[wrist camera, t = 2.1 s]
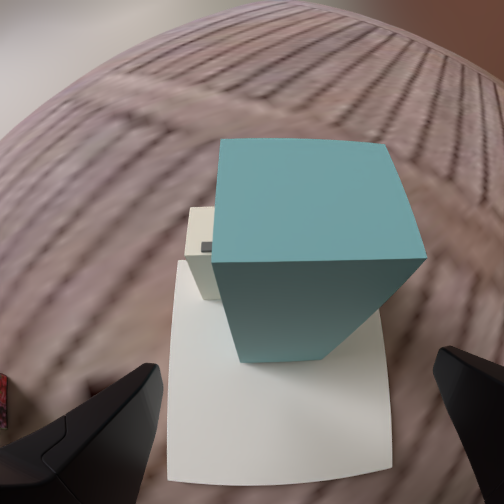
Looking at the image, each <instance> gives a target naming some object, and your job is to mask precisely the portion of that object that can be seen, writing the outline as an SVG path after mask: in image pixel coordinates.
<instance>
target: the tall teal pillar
mask: <svg viewBox="0 0 504 504" xmlns="http://www.w3.org/2000/svg"><path fill="white" fill-rule="evenodd" d="M426 259H427V255H426V252H425V249H424V245H423V242H422V239H421V236H420V233H419V230H418V227H417V224H416V221H415V218H414V215H413V212H412V209H411V207H410V204H409V201H408V199H407V196H406V193H405V191H404V188H403V186H402V183H401V181H400V178H399V176H398V173H397V171H396V169H395V166H394V164H393V162H392V159H391V157H390V155H389V153H388V150H387V148H386V146H385V144H376V143H366V142H354V141H340V140H322V139H293V138H245V139H221V142H220V153H219V163H218V175H217V186H216V199H215V212H214V226H213V240H212V256H211V264H212V268H213V271H214V275H215V279H216V282H217V286H218V289H219V293H220V296H221V300H222V303H223V307H224V310H225V314H226V317H227V321H228V324H229V328H230V331H231V334H232V338H233V341H234V344H235V348H236V351H237V354H238V358H239V361H240V363H263V362H292V361H310V360H322V359H323V358H324V357H325V356H327V355H328V354H329V353H330V352H331V351H332V350H334V349H335V348H336V347H337V346H338V345H339V344H341V343H342V342H343V341H344V340H345V339H346V338H347V337H349V336H350V335H351V334H352V333H353V332H354V331H355V330H356V329H357V328H358V327H360V326H361V325H362V324H363V323H364V322H365V321H366V320H367V319H368V318H369V317H370V316H371V315H372V314H373V313H375V312H376V311H377V310H378V309H379V308H380V307H381V306H382V305H383V304H384V303H385V302H386V301H387V300H388V299H389V298H390V297H391V296H392V295H393V294H394V293H395V292H396V291H397V290H398V289H399V288H400V287H401V286H402V285H403V284H404V283H405V282H406V281H407V279H408V278H409V277H410V276H411V275H412V274H413V273H414V272H415V271H416V270H417V269H418V268H419V267H420V266H421V264H422V263H423V262H424V261H425V260H426Z"/></svg>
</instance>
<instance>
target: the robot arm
mask: <svg viewBox="0 0 504 504" xmlns="http://www.w3.org/2000/svg"><path fill="white" fill-rule="evenodd" d="M433 374H434V377H435V380H436V382H437V385H438V387H439V390H440V393H441V396H442V398H443V401H444V404H445V407H446V409H447V411H448V414H449V416H450V418H451V420H452V422H453V424H454V426H455V429H456V431H457V433H458V435H459V438H460V440H461V442H462V444H463V447H464V449H465V452H466V454H467V456H468V459H469V461H470V464H471V466H472V469H473V471H474V474H475V476H476V479H477V482H478V484H479V487H480V490H481V493H482V496H483V498H484V500H485V501H484V502H485V504H504V366H501V365H499V364H496V363H493V362H491V361H488V360H486V359H483V358H481V357H478V356H476V355H473V354H470V353H468V352H465V351H463V350H460V349H458V348H455V347H453V346H446V347H442V348H440V349H439V351H438V354H437V357H436V360H435V363H434V367H433ZM162 396H163V382H162V377H161V373H160V368H159V366H158V365H157V364H154V363H144V364H142V365H141V366H139V367H138V368H136V369H135V370H133V371H132V372H130V373H129V374H127V375H126V376H124V377H123V378H121V379H120V380H118V381H117V382H115V383H113V384H112V385H110V386H109V387H107V388H106V389H104V390H103V391H101V392H100V393H98V394H97V395H95V396H93V397H92V398H90V399H89V400H87V401H86V402H84V403H82V404H81V405H79V406H78V407H76V408H75V409H73V410H71V411H70V412H68V413H67V414H66V416H65V415H63V416H62V417H60V418H58V419H57V420H55V421H53V422H52V423H50V424H48V425H47V426H45V427H43V428H41V429H39V430H37V431H35V432H33V433H31V434H29V435H27V436H25V437H23V438H21V439H19V440H17V441H14V442H12V443H10V444H8V445H6V446H3V447H1V448H0V504H136V500H137V497H138V493H139V489H140V486H141V482H142V479H143V475H144V472H145V468H146V465H147V462H148V458H149V455H150V451H151V448H152V445H153V441H154V438H155V434H156V430H157V425H158V419H159V413H160V407H161V401H162Z"/></svg>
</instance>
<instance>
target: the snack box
mask: <svg viewBox="0 0 504 504" xmlns="http://www.w3.org/2000/svg"><path fill="white" fill-rule="evenodd" d="M6 390H7V376H6V375H4V374H2V373H0V428H1V429H5V430H7V425H6Z"/></svg>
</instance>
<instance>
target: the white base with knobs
mask: <svg viewBox="0 0 504 504" xmlns="http://www.w3.org/2000/svg"><path fill="white" fill-rule="evenodd" d="M214 212H215V207H190V213H189V221H188V229H187V237H186V246H185V255H184V256H185V258H186V260H178V266H177V275H176V285H175V295H174V306H173V317H172V330H171V344H170V361H169V381H168V411H167V475H168V480H170V481H178V482H188V483H198V484H212V485H240V486H255V485H283V484H297V483H308V482H317V481H325V480H332V479H339V478H345V477H351V476H356V475H361V474H366V473H371V472H376V471H380V470H384V469H388V468H392V429H391V410H390V395H389V384H388V373H387V364H386V355H385V347H384V339H383V332H382V325H381V319H380V312H379V309H378V310H377V311H376V312H375V313H373V314H372V315H371V316H370V317H369V318H368V319H367V320H366V321H365V322H364V323H363V324H362V325H361V326H360V327H358V328H357V329H356V330H355V331H354V332H353V333H352V334H351V335H350V336H349V337H347V338H346V339H345V340H344V341H343V342H342V343H341V344H339V345H338V346H337V347H336V348H335V349H334V350H332V351H331V352H330V353H329V354H328V355H327V356H325V357H324V358H323V359H322V360H310V361H292V362H263V363H240V361H239V358H238V354H237V351H236V348H235V344H234V341H233V338H232V334H231V331H230V328H229V324H228V321H227V317H226V314H225V310H224V307H223V303H222V300H221V296H220V293H219V289H218V286H217V282H216V279H215V275H214V271H213V268H212V264H211V256H212V240H213V226H214Z"/></svg>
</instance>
